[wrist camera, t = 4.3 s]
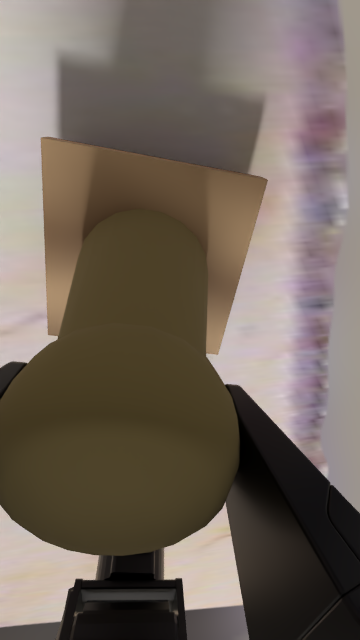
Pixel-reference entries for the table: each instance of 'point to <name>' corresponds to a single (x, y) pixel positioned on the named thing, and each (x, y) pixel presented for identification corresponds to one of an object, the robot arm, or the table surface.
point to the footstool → (150, 194)
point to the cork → (123, 401)
